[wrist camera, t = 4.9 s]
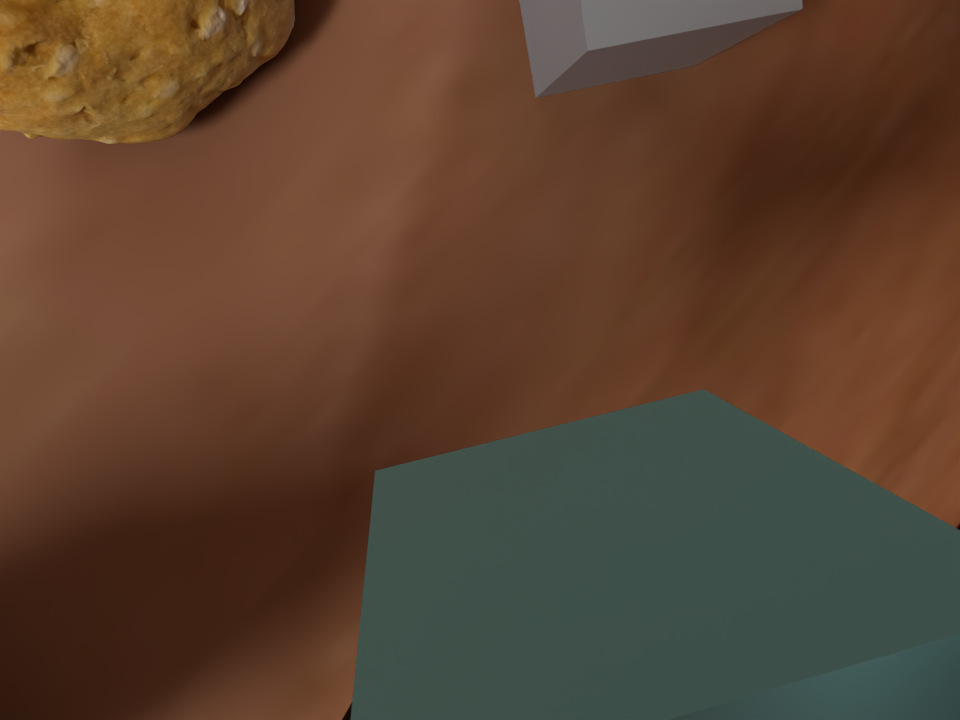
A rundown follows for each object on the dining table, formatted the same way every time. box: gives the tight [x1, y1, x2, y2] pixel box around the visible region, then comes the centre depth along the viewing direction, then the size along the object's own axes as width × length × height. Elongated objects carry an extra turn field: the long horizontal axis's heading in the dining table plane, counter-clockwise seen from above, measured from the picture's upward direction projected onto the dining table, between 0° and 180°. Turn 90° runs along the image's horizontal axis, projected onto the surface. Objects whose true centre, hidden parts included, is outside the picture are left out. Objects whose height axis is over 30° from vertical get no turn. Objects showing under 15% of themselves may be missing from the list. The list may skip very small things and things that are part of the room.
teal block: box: [351, 389, 960, 720], centre depth 7 cm, size 5×5×5 cm
